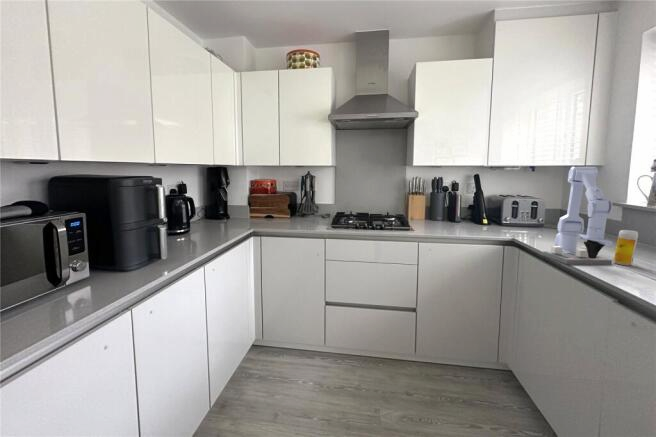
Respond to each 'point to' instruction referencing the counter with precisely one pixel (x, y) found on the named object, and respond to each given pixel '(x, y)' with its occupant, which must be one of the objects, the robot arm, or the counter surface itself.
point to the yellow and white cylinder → (625, 247)
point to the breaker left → (556, 249)
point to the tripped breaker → (581, 253)
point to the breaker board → (576, 258)
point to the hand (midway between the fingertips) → (592, 258)
